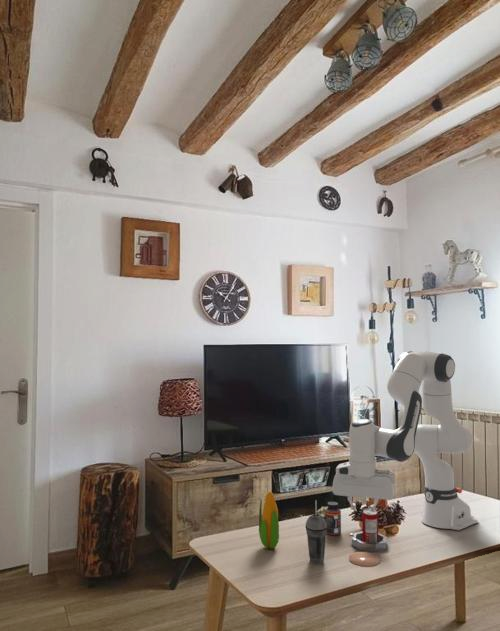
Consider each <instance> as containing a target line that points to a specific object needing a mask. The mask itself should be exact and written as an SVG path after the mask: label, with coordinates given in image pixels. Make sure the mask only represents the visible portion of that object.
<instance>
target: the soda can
mask: <svg viewBox="0 0 500 631" xmlns="http://www.w3.org/2000/svg"><path fill="white" fill-rule="evenodd" d="M361 522H362V524H361V525H362V526H361V527H362V531H363V540H362V542H367V543H377V542H378V533H379V514H378V511H377V510H376V509H375V512H372V511H371V508H366V509H365V508H364V509H363V511H362V520H361Z"/></svg>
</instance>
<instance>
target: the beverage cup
mask: <svg viewBox="0 0 500 631" xmlns="http://www.w3.org/2000/svg"><path fill="white" fill-rule="evenodd" d="M317 504H318V502H317V499H316V500H315V502H314V505H315V507H314V509H315V510H314V513H312V514H311V515H310V516H308V518H307V519H306V521H305V531H306V534H307V535H306V537H307V547H308V557H309V563H310V564H312V565H316V566H317V565H323V564H324V560H325V553H326V552H325V551H326V539H327V538H326V535H327V533H326V532H327V524H326V521H325V519H324V518H323V517H322V516H321V515H319V514H317V511H318V505H317Z"/></svg>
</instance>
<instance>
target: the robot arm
mask: <svg viewBox="0 0 500 631" xmlns="http://www.w3.org/2000/svg"><path fill="white" fill-rule="evenodd" d="M455 372H456V363H455V361H454V359H453V358H452V356H451V355H449V354H446V353H443V352H442V353H437V352H435V351H434V352H432V351H411V350H410V351H404V352H403V353H401V354H400V355H399V356H398V358H397V362H396V364H395V366H394V368H393V370H392V372H391V374H390V376H389V378H388V381H387V383H386V384H387V385H386V387H387V393H388V394H389V395H390V397H391V398H392V399H393V400H394V401H396V403H398V404H399V405H401V406H403V407H404V410H403V414H402V418H401V422H400V426H399V428H397V429H391V428H385V427H381V426H378V425H375V423H374V422H373V421H372V420H371V419H367V418H362V419H356V420H354V421H351V423H350V426H349V432H348V448H349V456H348V461H346V462H343V463H339V464H338V465H337V466H336V468H335V475H334V476H333V480H332V488H331V489H332V494H333V495H334V496H341V497H342V496H343V497H347V501H348V502H349V505H350V509H351V510H353V511H357V510H356V508H357V506H356V505H357V503H356V502H355V503H354V502H353V500H352V499H353V497H355V498H356V497H357V498H363V499H364V498H366V499H373V502H374V503H373V504H370V509H371V511H372V512H375V510H376V506H377V504H378V503H379V500H389V501H390V500H393V499H394V497H395V492H394V485H393V484H395V474H394V473H393V472H392V471H390V470H388V469H387V470H384V469H377V461H376V456H379V457H383V458H388V459H391V460H393V461H397V462H399V463H403V462H405V461H407V460H409V459H410V458H411V457H412V456H413V454H414V453H415V454H416V455H417V456H418V457H419V459H420V461H421V463H422V466H423V472H424V485H423V494H424V498H423V509H422V513H421V522H422V523H424V524H425V525H427V526H430V527H433V528H437V529H448V530H455V531H460V530H462V529H465V528H467V527H469V526H471V525H474V524H476V523H478V519H477V518H476V517H475V516H473V515H472V513H471V507H470V506H469V504H467V502H465V501H464V500H463V499H462V498H460V497H459V495H458V494H462V493H463V489H462V488H461V487H457V486H456V487H455V471H454V469H453V467H452V465H451V464H449V463H448V462H446V461H445V460H443V459H441V458H439V456H438V455H437V454H438V453H439V454H440V453H441V454H442V453H443V454H455V455H456V454H465V453H469V451H471V449H472V447H473V444H474V438H473V435H472V432H471V431H470V430H469V429H468V428H466V427H465V426H464V425H463V424H461V422H460V421H459V420H458V418H457V417H456V415H455V412H454V408H453V396H452V384H451V379H452V378H453V376H454V375H455ZM421 385H422V386H421ZM421 387H422V390H421V392H422V395H421V394H420V388H421ZM422 409H423V411H424V413H425V414H426V416H429V417H430V418H433V419H434V420H436V421H437V422H438V423H439V424H427V423H426V424H424V423H422V424H421V423H420V424H419V422H420V416H421V412H422Z"/></svg>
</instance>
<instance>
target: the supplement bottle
mask: <svg viewBox="0 0 500 631" xmlns="http://www.w3.org/2000/svg"><path fill="white" fill-rule="evenodd" d="M327 506H328V508H326V510H325V521H326V524H327V532H326V535H329V536H339V535H340V534H342V514H341V513H342V511H341V509H340V508H339V503H338V502H336V501H328V502H327Z"/></svg>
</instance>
